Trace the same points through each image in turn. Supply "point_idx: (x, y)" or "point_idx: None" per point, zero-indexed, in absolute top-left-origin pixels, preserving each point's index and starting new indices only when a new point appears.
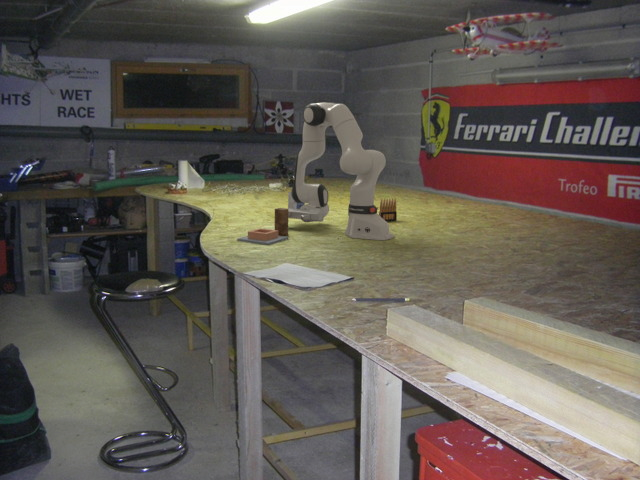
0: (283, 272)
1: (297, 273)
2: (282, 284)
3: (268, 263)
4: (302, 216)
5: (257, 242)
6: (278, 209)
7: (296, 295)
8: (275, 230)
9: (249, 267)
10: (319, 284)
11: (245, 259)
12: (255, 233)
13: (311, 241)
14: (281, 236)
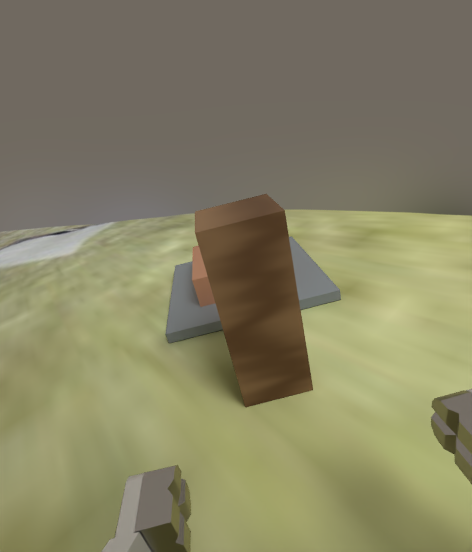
0: (62, 241)
1: (40, 248)
2: (52, 233)
3: (101, 240)
4: (154, 471)
5: None
6: (234, 202)
7: (30, 233)
8: (203, 275)
9: (120, 226)
10: (4, 250)
11: (150, 229)
12: None
13: (45, 386)
14: (199, 320)
